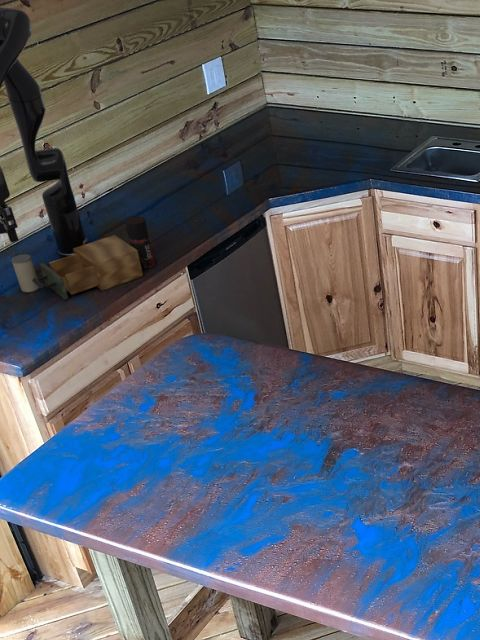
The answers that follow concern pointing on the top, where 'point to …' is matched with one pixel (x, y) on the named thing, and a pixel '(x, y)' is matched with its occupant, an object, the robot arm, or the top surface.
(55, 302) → the top surface
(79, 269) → the drawer
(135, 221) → the deodorant
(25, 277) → the tin can
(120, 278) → the cabinet
